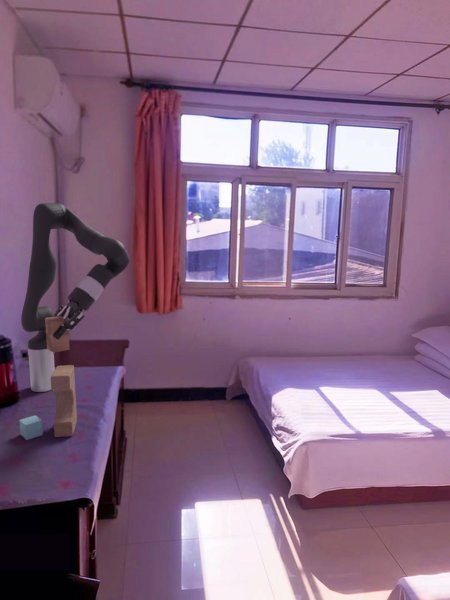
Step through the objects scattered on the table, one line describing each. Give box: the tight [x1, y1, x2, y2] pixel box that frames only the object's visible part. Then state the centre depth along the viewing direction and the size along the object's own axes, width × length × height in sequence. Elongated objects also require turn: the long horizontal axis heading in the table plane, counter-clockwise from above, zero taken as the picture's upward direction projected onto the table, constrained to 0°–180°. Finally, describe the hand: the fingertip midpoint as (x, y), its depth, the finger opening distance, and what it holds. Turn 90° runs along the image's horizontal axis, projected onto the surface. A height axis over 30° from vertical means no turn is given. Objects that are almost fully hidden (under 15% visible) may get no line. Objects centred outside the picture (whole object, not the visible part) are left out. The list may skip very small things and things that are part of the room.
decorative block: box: [50, 364, 78, 438], centre depth 142 cm, size 11×6×20 cm, turn 10°
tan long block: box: [45, 316, 70, 354], centre depth 138 cm, size 5×5×10 cm
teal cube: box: [18, 415, 44, 441], centre depth 140 cm, size 5×5×5 cm
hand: (51, 335), depth 136 cm, fingers closed on tan long block, 5 cm apart
